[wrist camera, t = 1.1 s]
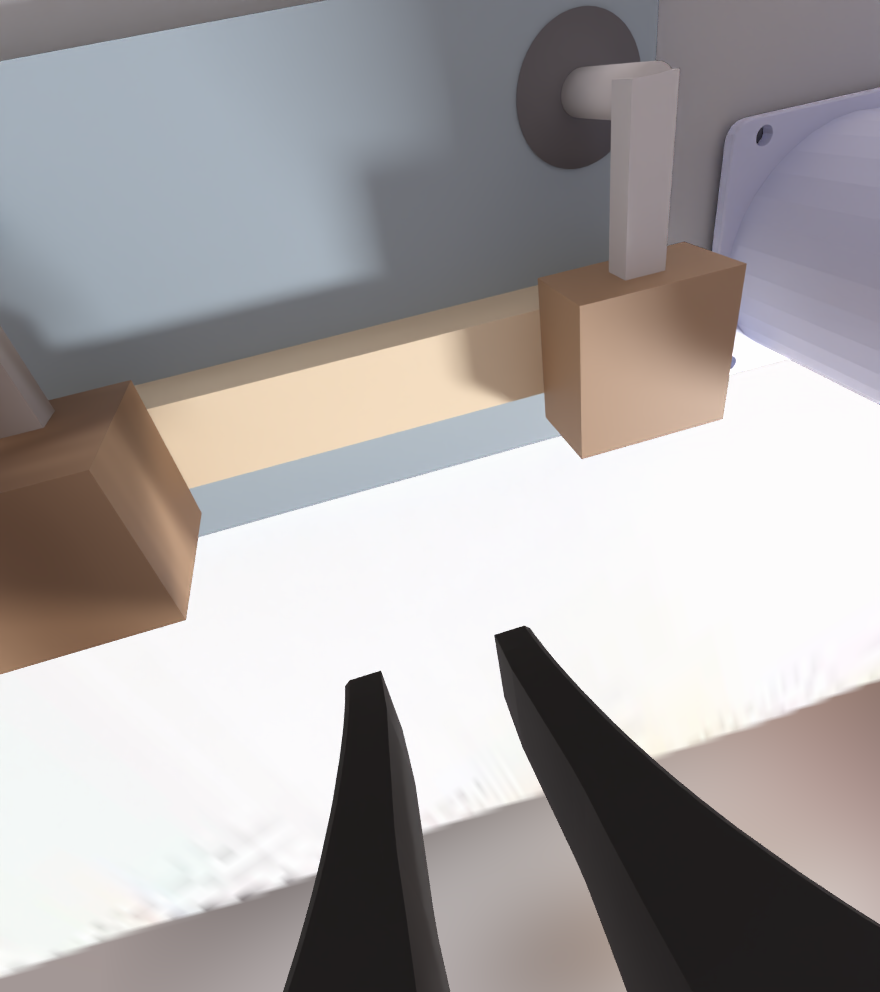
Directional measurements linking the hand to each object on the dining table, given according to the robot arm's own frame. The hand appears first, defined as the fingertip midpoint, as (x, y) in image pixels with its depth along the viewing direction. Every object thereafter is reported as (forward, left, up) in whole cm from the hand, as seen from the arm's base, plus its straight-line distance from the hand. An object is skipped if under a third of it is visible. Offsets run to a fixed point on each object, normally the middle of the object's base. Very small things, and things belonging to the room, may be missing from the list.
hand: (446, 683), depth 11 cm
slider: (+7, -5, -8) cm, 12 cm away
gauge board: (+3, -5, -10) cm, 11 cm away
